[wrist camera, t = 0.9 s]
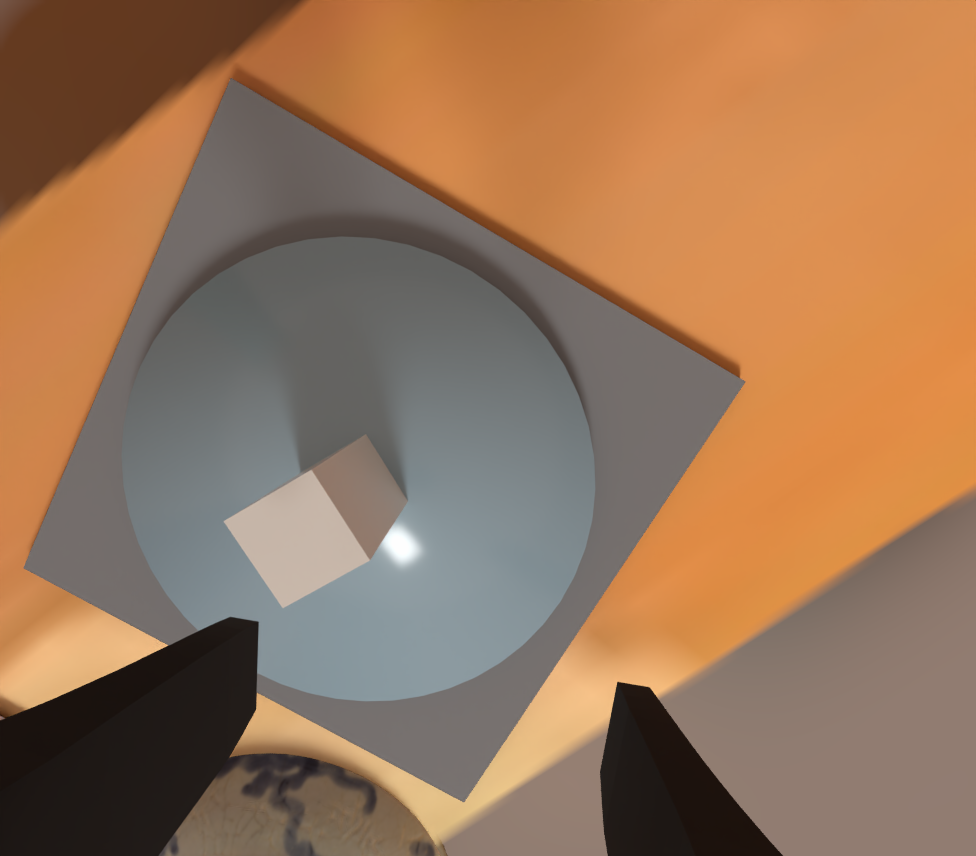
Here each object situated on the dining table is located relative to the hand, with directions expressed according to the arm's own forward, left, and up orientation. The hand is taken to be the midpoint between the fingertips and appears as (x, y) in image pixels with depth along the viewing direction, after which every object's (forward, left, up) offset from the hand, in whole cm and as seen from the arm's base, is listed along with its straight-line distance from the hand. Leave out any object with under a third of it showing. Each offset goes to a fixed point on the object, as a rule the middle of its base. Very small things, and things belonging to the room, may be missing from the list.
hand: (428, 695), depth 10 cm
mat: (-4, -1, -10) cm, 11 cm away
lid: (-4, -1, -9) cm, 10 cm away
